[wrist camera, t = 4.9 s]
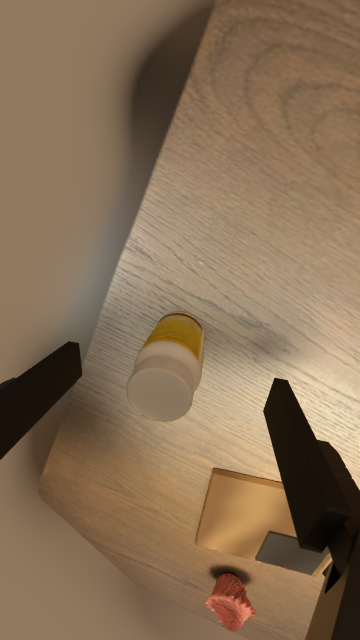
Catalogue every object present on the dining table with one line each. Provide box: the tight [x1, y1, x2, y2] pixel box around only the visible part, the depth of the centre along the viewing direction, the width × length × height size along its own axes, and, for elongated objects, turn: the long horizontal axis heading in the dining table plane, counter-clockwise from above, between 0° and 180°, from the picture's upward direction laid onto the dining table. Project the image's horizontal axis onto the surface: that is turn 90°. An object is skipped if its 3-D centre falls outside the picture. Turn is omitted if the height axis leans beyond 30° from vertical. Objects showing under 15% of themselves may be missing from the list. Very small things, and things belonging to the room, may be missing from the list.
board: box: [195, 468, 331, 576], centre depth 28 cm, size 18×18×1 cm
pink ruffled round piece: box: [205, 573, 257, 632], centre depth 33 cm, size 8×8×6 cm
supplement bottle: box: [127, 312, 205, 422], centre depth 16 cm, size 5×5×8 cm
